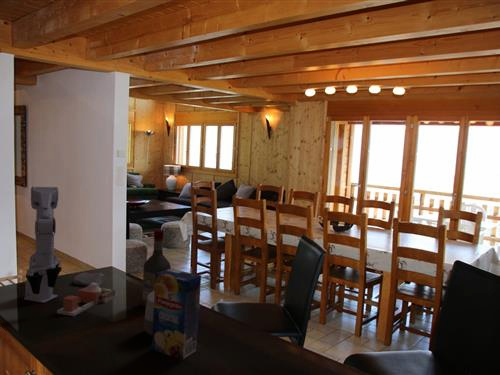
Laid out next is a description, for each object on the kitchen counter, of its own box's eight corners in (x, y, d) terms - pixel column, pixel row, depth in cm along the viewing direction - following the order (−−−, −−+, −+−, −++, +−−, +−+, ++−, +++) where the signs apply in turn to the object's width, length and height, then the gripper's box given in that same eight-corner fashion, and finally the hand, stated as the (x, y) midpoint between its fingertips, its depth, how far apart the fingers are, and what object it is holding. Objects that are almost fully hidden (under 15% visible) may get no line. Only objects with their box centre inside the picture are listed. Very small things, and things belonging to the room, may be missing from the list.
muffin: (92, 303, 166) (92, 285, 166) (81, 299, 169) (81, 282, 168) (104, 299, 172) (105, 282, 171) (93, 295, 175) (94, 278, 174)
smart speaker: (138, 335, 142) (139, 294, 140) (154, 325, 150) (155, 286, 149) (162, 341, 138) (164, 299, 137) (177, 330, 147) (179, 291, 145)
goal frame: (77, 298, 170) (77, 291, 170) (88, 292, 177) (88, 285, 177) (105, 303, 167) (105, 295, 167) (114, 297, 174) (115, 290, 174)
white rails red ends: (55, 312, 155) (56, 298, 154) (79, 300, 168) (80, 287, 168) (74, 316, 153) (75, 301, 152) (97, 303, 166) (98, 290, 166)
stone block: (97, 292, 185) (106, 280, 194) (96, 282, 183) (105, 271, 193) (70, 290, 186) (81, 279, 195) (69, 280, 184) (80, 269, 194)
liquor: (156, 311, 162) (159, 234, 159) (138, 306, 167) (141, 230, 164) (171, 305, 170) (175, 230, 167) (154, 299, 174) (158, 227, 172)
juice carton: (197, 350, 134) (201, 275, 131) (182, 360, 127) (186, 281, 125) (167, 340, 139) (170, 268, 137) (151, 348, 133) (155, 273, 130)
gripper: (39, 258, 141) (38, 298, 143) (68, 249, 155) (67, 285, 157) (21, 256, 143) (20, 295, 144) (51, 247, 157) (50, 283, 158)
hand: (43, 290), depth 151 cm, fingers open, 7 cm apart
